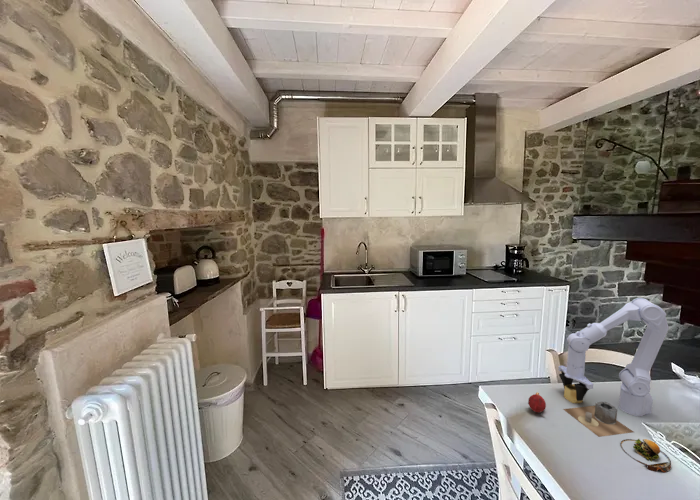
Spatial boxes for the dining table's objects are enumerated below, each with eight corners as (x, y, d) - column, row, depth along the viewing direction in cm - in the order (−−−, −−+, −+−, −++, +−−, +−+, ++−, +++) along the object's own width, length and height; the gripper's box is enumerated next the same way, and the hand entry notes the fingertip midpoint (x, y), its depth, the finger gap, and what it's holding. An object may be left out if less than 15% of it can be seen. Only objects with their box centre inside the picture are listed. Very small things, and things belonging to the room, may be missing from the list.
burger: (619, 438, 108) (621, 418, 107) (668, 455, 100) (671, 433, 99) (620, 460, 98) (622, 438, 97) (673, 480, 91) (677, 457, 90)
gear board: (594, 408, 123) (595, 398, 123) (634, 435, 109) (635, 424, 108) (562, 412, 121) (563, 401, 121) (598, 440, 107) (599, 428, 106)
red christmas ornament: (547, 418, 118) (549, 398, 117) (530, 416, 119) (532, 396, 118) (541, 408, 124) (543, 389, 123) (525, 406, 125) (526, 387, 124)
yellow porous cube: (573, 395, 130) (574, 383, 130) (584, 402, 125) (585, 390, 124) (562, 396, 130) (563, 384, 129) (572, 403, 124) (573, 392, 124)
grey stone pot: (604, 413, 118) (605, 401, 118) (618, 422, 113) (619, 410, 112) (592, 415, 118) (593, 402, 117) (605, 424, 112) (606, 411, 112)
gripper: (552, 356, 132) (550, 386, 134) (582, 374, 118) (580, 407, 119) (567, 355, 133) (565, 385, 135) (599, 372, 119) (596, 405, 120)
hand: (573, 395), depth 127 cm, fingers closed on yellow porous cube, 5 cm apart
